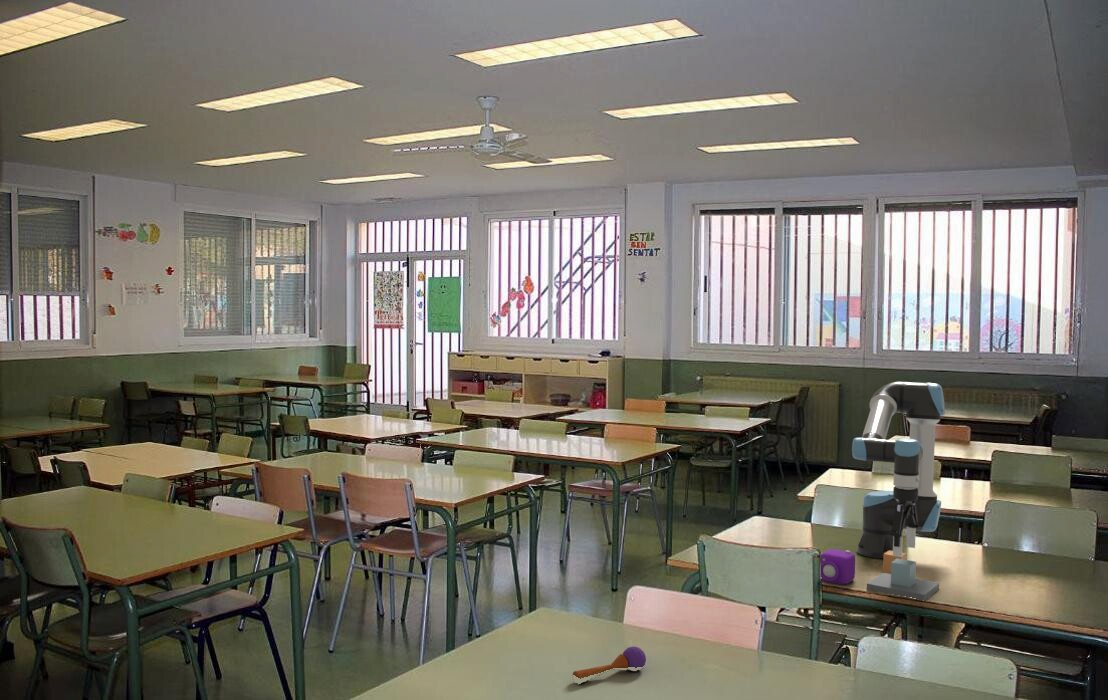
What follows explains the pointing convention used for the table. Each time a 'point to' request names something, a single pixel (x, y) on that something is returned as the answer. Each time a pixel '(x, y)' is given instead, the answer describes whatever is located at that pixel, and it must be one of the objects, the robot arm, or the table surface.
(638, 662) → the purple and brown microphone
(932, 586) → the base plate
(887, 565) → the orange brick
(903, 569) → the teal brick
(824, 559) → the toy camera
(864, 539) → the robot arm
